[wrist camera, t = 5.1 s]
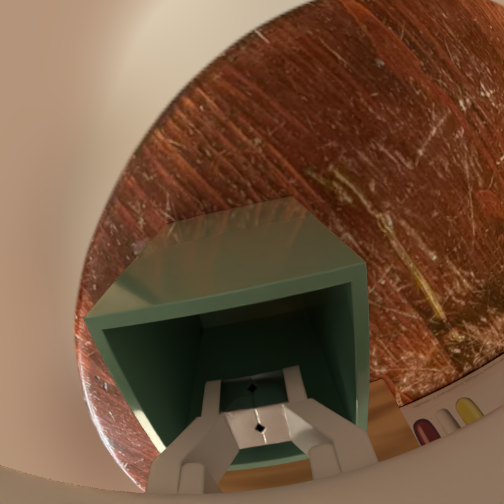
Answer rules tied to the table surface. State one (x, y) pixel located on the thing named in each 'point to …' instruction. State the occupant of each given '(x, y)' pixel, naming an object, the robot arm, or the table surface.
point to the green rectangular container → (237, 318)
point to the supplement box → (457, 403)
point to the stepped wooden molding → (380, 434)
